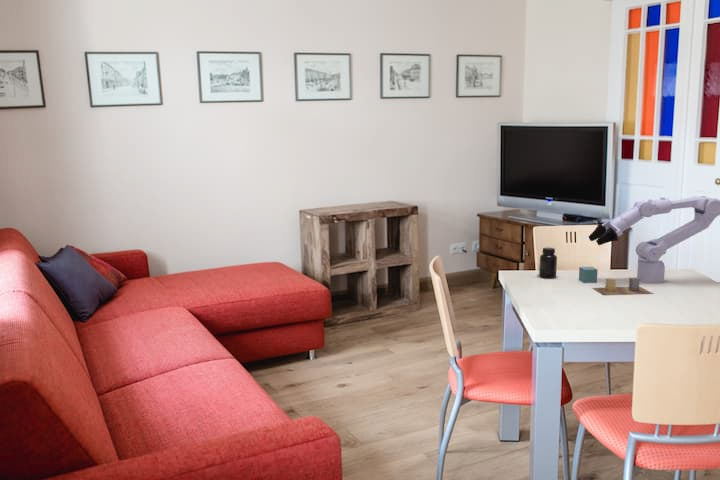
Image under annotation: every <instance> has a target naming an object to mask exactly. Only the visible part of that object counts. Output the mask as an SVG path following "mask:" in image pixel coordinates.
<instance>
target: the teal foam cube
mask: <svg viewBox="0 0 720 480" xmlns="http://www.w3.org/2000/svg"><path fill="white" fill-rule="evenodd" d="M578 272H579V273H578V280H579V281H580V282H582V283H583V284H592V283H593V284H594V283H595V284H596V283H598V268H595V267H594V266H579V269H578Z"/></svg>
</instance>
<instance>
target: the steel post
mask: <svg viewBox="0 0 720 480" xmlns="http://www.w3.org/2000/svg"><path fill="white" fill-rule="evenodd" d="M628 280H629V281H628V287H629V290H630V291H639V286H640V282H639V279H638V278H637V277H629V279H628Z"/></svg>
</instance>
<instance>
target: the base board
mask: <svg viewBox="0 0 720 480" xmlns="http://www.w3.org/2000/svg"><path fill="white" fill-rule="evenodd" d="M605 287H606V286H605ZM605 287H591V289H592V290H594V291H596V292H597V293H599V294H600V295H602V296H625V295H626V296H630V295H632V296H633V295H636V296H637V295H654V292H651V291H649V290H648V289H645V288H644V287H642V286H640V285H639V291H630V290H629V286H615V292H607V291H606V290H605Z"/></svg>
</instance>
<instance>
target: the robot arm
mask: <svg viewBox="0 0 720 480" xmlns="http://www.w3.org/2000/svg"><path fill="white" fill-rule="evenodd" d="M687 208H691V209H692V208H693V209H694V211H693V212H694V218H693V219H692V220H691V221H688V222H687V223H684V224H683V225H681V226H679V227H677V228H675V229H673V230H672V231H670V232H667V233H666V234H665V235H662V236H660V237H659V238H656V239H655V238H654V239H650V240H648V241H641V242H639V243H638V244H637V245H636V247H635V253H636V255H637V256H638V257H637V269H636V271H637V273H636V278H638V279H639V283H645V284H653V283H656V284H657V283H664V282H665V271H666V270H665V268H666V267H665V263H664V262H663V261H662V260H660V259H661V258H662V256H664V255H665V254H667V250H669V249H671V248H672V247H675V246H676V245H678V244H680V243H682V242H683V241H685V240H687V239H690V238H691V237H693V236H695V235H697V234H699V233H701V232H703V231H705V230H706V229H708V228H709V227H710V225H712V223H713V222H714V221H715V219H716V218H717V217H720V199H718V198H712V197H707V196H705V195H702V196H701V195H700V196H690V197H685V198H680V199H674V200H670V199H669V198H667V197H664V196H662V197H659V199H655V200H654V199H647V201H644V200H640V201H635V203H634V204H633V206H632V207H631V208H629V209H628V210H626V211H624V212H623V213H622V214H619V216H617V217H615V218H614V219H612V220H610V219H607V220H606V222H604V223H600V222H599V223H598V224H597V226H596V228H595V229H594V230H593V231H592V232H591V233H590V234H589V236H588V240H589V241H590V242H594V241H595V242H596V244H597V245H598V246H601V245H605V244H607V243H610V242H615V241H619V237H620V236H622V235H623V234H624V231H626V230H627V229H629V228H630V227H632V226H633V225H635V224H637V223H638V222H640V221H642V220H643V219H644V218H651V217H652V216H656V215H663V214H670V212H671V211H672V210H677V209H687Z"/></svg>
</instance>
